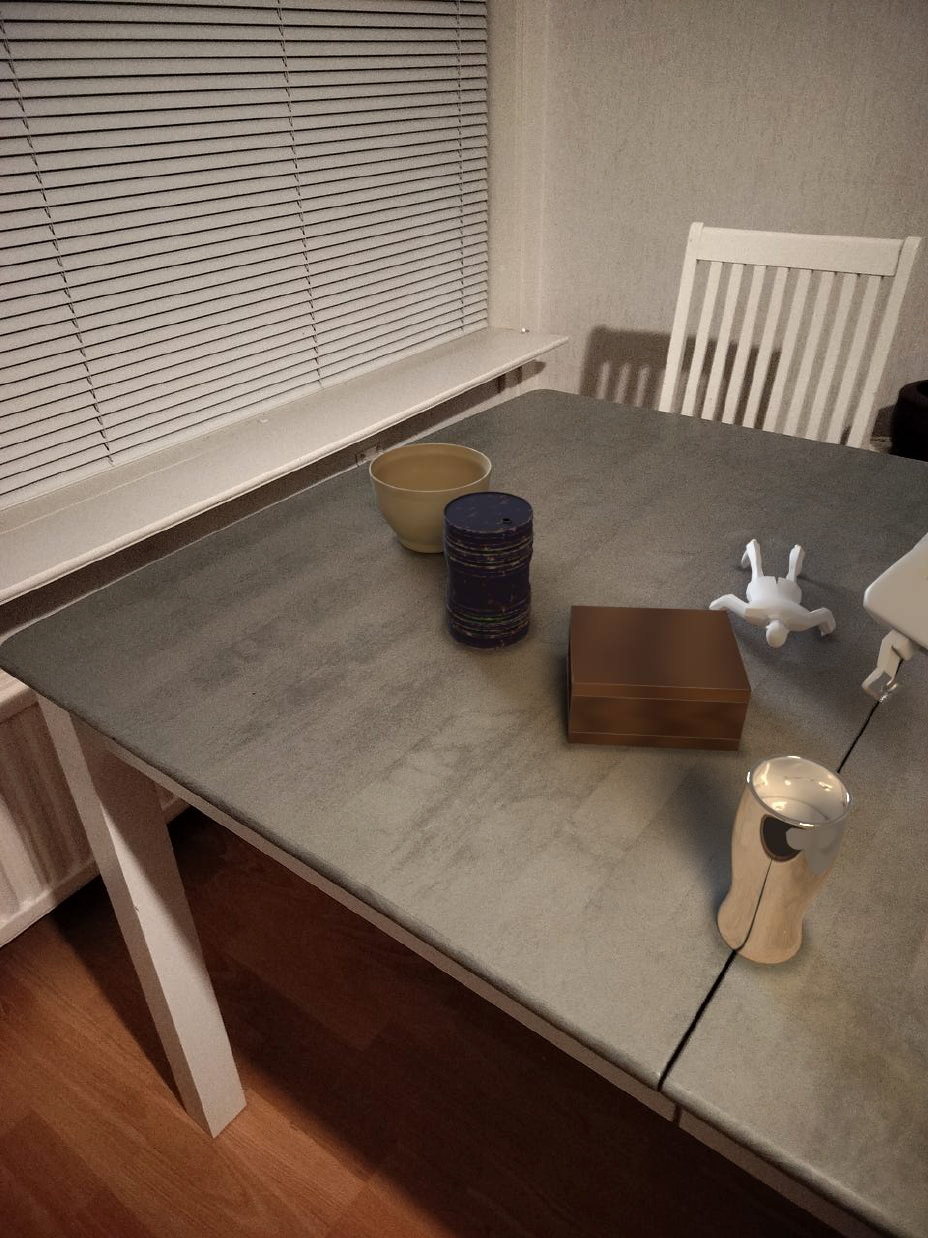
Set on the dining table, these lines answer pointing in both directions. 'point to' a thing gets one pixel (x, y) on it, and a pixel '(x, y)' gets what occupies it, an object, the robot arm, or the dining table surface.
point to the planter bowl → (425, 488)
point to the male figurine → (775, 600)
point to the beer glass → (782, 853)
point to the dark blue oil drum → (488, 568)
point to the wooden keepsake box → (655, 678)
